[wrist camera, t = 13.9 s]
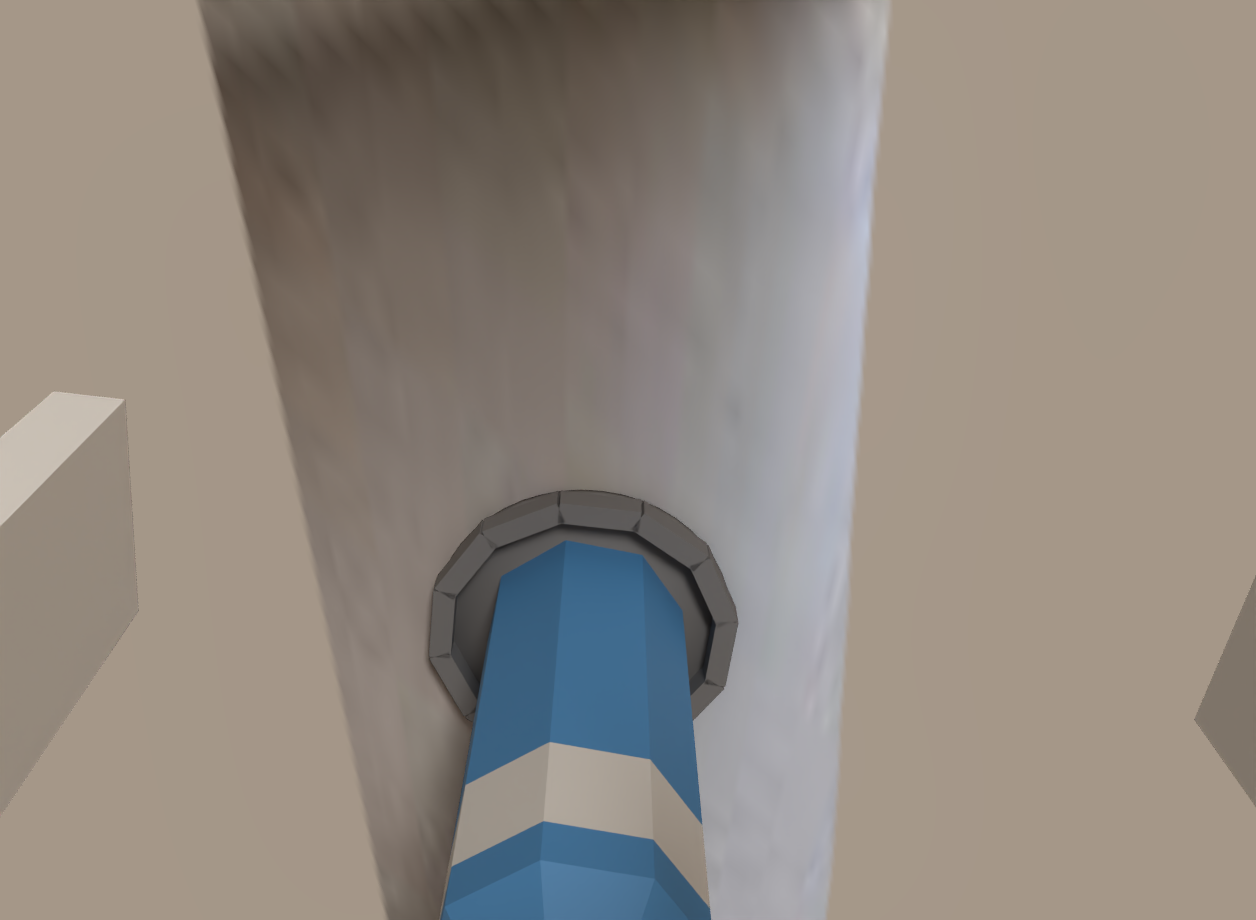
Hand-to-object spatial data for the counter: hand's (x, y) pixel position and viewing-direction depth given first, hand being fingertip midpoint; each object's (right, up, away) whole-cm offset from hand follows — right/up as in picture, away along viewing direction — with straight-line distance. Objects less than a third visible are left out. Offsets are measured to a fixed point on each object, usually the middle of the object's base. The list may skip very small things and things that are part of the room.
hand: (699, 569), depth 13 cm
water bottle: (-3, -6, +41) cm, 42 cm away
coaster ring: (-3, -6, +42) cm, 42 cm away
